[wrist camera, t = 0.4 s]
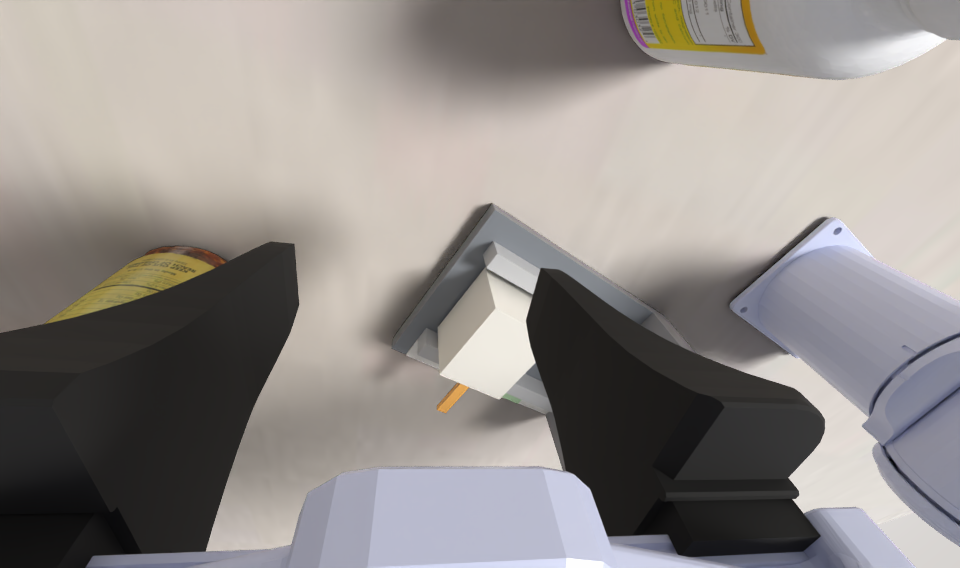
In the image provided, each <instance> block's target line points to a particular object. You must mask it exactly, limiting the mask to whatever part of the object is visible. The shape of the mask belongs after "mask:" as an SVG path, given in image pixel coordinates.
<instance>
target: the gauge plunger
mask: <svg viewBox="0 0 960 568" xmlns="http://www.w3.org/2000/svg"><path fill="white" fill-rule="evenodd" d="M532 297H533V294H531V293H529V292H527V291H526V290H524V289H522V288H521V287H519V286H517V285H515V284H514V283H512V282H510V281H508V280H507V279H505V278H503V277H501V276H500V275H498V274H496V273H494V272H493V271H491V270H489V269H487V268H486V267H485V268H484V269H483V271H482V272H481V273H480V274H479V276H478V277H477V278H476V279H475V281H474V282H473V283H472V285H471V286H470V287H469V288H468V290H467V291H466V292H465V293H464V295H463V296H462V297H461V299H460V300H459V301H458V302H457V304H456V305H455V306H454V307H453V309H452V310H451V311H450V312H449V314H448V315H447V316H446V318H445V319H444V320H443V321H442V323H441V324H440V325H439V326H438V351H439V375H441V376H444V377H446V378H448V379H451V380H453V381H456V382H458V383H457V384H456V385H455V386H454V387H453V388H452V389H451V391H450V392H449V393H448V394H447V395H446V396H445V397H444V398H443V400H442V401H441V402H440V403H439V404H438V405H437V410H438V411H441V412H444V413H446V412H447V411H448V410H449V409H450V408H451V407H452V406H453V405H454V404H455V402H456V401H457V400H458V399H459V398H460V397H461V396H462V395H463V394H464V393H465V391H466V390H467V389H468V388H469V387H470V388H472V389H475V390H477V391H479V392H482V393H484V394H487V395H489V396H491V397H494V398H496V399H499V400H500V399H501V398H502V397H503V395H504V394H505V393H506V392H507V391H508V390H509V389H510V388H511V387H512V386H513V385H514V384H515V383H516V382H517V381H518V380H519V379H520V378H521V377H522V376H523V375H524V374H525V373H526V372H527V371H528V370H529V369H530V368H531V367H532V366H533V365H534V364H535V363H536V362H535V359H534V356H533V353H532V350H531V347H530V342H529V337H528V331H527V325H526V318H527V314H528V311H529V307H530V304H531V300H532Z"/></svg>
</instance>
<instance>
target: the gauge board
mask: <svg viewBox="0 0 960 568" xmlns="http://www.w3.org/2000/svg"><path fill="white" fill-rule="evenodd" d="M485 267H486V268H487V269H489V270H491V271H493V272H494V273H496V274H498V275H500V276H501V277H503V278H505V279H507V280H508V281H510V282H512V283H514V284H515V285H517V286H519V287H521V288H522V289H524V290H526V291H527V292H529V293H531V294H533V293H534V290H535V286H536V283H537V279H538V276H539V272H540V269H541V268H549V269H559V270H561V271H563V272H565V273H566V274H568V275H569V276H571V277H572V278H573V279H575V280H576V281H578V282H579V283H580V284H582V285H583V286H584V287H586V288H587V289H588V290H590V291H591V292H592V293H594V294H595V295H597V296H598V297H599V298H601V299H602V300H603V301H605V302H606V303H608V304H609V305H610V306H612V307H613V308H615V309H616V310H618V311H619V312H621V313H622V314H624V315H625V316H627V317H628V318H630V319H631V320H633V321H635V322H636V323H638V324H639V325H641V326H643V327H645V328H646V329H648V330H650V331H652V332H654V333H655V334H657V335H659V336H661V337H663V338H664V339H666V340H668V341H670V342H672V343H674V344H676V345H679V346H681V347H683V348H685V349H687V350H689V351H692V352H694V353H695V351H694V350H693V349H692V348H691V347H690V345H689V344H688V343H687V342H686V341H685V340H684V338H683V337H682V336H681V335H680V334H679V333H678V331H677V330H676V329H675V328H674V327H673V325H672V324H671V323H670V322H669V321H668V320H667V318H666V317H665V316H664V315H662V314H661V313H659V312H658V311H656V310H655V309H653V308H652V307H650V306H648V305H647V304H645V303H644V302H642V301H641V300H639V299H638V298H636V297H635V296H633V295H632V294H630V293H629V292H627V291H626V290H624V289H623V288H621V287H620V286H618V285H617V284H615V283H613V282H612V281H610V280H609V279H607V278H606V277H604V276H603V275H601V274H600V273H598V272H597V271H595V270H594V269H592V268H591V267H589V266H588V265H586V264H585V263H583V262H581V261H580V260H578V259H577V258H575V257H574V256H572V255H571V254H569V253H568V252H566V251H565V250H563V249H562V248H560V247H559V246H557V245H556V244H554V243H553V242H551V241H550V240H548V239H546V238H545V237H543V236H542V235H540V234H539V233H537V232H536V231H534V230H533V229H531V228H530V227H528V226H527V225H525V224H524V223H522V222H521V221H519V220H518V219H516V218H515V217H513V216H511V215H510V214H508V213H507V212H505V211H504V210H502V209H501V208H499V207H498V206H496V205H495V204H493V203H492V204H491V206H490V207H489V208H488V210H487V211H486V213H485V214H484V215H483V217H482V218H481V219H480V221H479V222H478V223H477V225H476V226H475V227H474V229H473V230H472V232H471V233H470V234H469V236H468V237H467V238H466V240H465V241H464V242H463V244H462V245H461V246H460V248H459V249H458V251H457V252H456V253H455V255H454V256H453V257H452V259H451V260H450V261H449V263H448V264H447V265H446V267H445V268H444V270H443V271H442V272H441V274H440V275H439V276H438V278H437V279H436V280H435V282H434V283H433V284H432V286H431V287H430V289H429V290H428V291H427V293H426V294H425V295H424V297H423V298H422V299H421V301H420V302H419V303H418V305H417V306H416V308H415V309H414V310H413V312H412V313H411V314H410V316H409V317H408V318H407V320H406V321H405V322H404V324H403V325H402V326H401V328H400V329H399V331H398V332H397V333H396V335H395V336H394V337H393V341H392V349H394V350H396V351H399V352H401V353H403V354H406V356H408V357H410V358H413V359H415V360H417V361H420V362H422V363H424V364H427V365H429V366H431V367H434V368H436V369H439V351H438V326H439V325H440V324H441V323H442V321H443V320H444V319H445V318H446V316H447V315H448V314H449V312H450V311H451V310H452V309H453V307H454V306H455V305H456V304H457V302H458V301H459V300H460V299H461V297H462V296H463V295H464V293H465V292H466V291H467V290H468V288H469V287H470V286H471V285H472V283H473V282H474V281H475V279H476V278H477V277H478V276H479V274H480V273H481V272H482V271H483V269H484V268H485ZM503 398H505V399H507V400H510V401H512V402H515V403H517V404H518V403H519V404H521V405H523V406H526V407H528V408H531V409H533V410H535V411H538V412H540V413H542V414H545V415H546V418H547V421H548V424H549V427H550V431H551V434H552V437H553V440H554V443H555V447H556V450H557V453H558V456H559V459H560V463H561V466H562V469H563V471H566V469H565V464H564V459H563V454H562V449H561V444H560V440H559V436H558V431H557V427H556V422H555V418H554V415H553V411H552V408H551V405H550V402H549V399H548V396H547V393H546V391H545V388H544V385H543V382H542V379H541V376H540V373H539V371H538V368H537V365H536V363H535V364H534V365H533V366H532V367H531V368H530V369H529V370H528V371H527V372H526V373H525V374H524V375H523V376H522V377H521V378H520V379H519V380H518V381H517V382H516V383H515V384H514V385H513V386H512V387H511V388H510V389H509V390H508V391H507V392H506V393H505V394H504V395H503Z"/></svg>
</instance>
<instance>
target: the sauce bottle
mask: <svg viewBox="0 0 960 568" xmlns="http://www.w3.org/2000/svg"><path fill="white" fill-rule="evenodd" d="M226 262H227V261H226V260H224V259H222V258H221V257H219V256H218V255H216V254H214V253H211V252H209V251H206V250H203V249H199V248H193V247H184V246H183V247H181V246H174V247H161V248H157V249H154V250H151V251H149V252H147V253H146V254H145V256H143V257H141V258H138V259H136V260H134V261H132V262H130V263H129V264H127V265H126V266H125V267H123V268H122V269H120V270H119V271H118V272H116V273H115V274H113V275H112V276H111V277H109V278H108V279H106V280H105V281H104V282H102V283H101V284H99V285H98V286H97V287H95V288H94V289H92V290H91V291H90V292H88V293H87V294H85V295H84V296H83V297H81V298H80V299H78V300H77V301H76V302H74V303H73V304H71V305H70V306H68V307H67V308H66V309H64V310H63V311H61V312H60V313H59V314H57V315H56V316H54V317H53V318H52V319H50V320H49V321H47V322H46V323H45V324H47V323H51V322H56V321H60V320H65V319H69V318H73V317H77V316H80V315H84V314H88V313H91V312H95V311H98V310H102V309H106V308H109V307H113V306H117V305H120V304H124V303H127V302H130V301H133V300H136V299H139V298H142V297H145V296H148V295H151V294H154V293H157V292H159V291H162V290H165V289H167V288H170V287H173V286H175V285H178V284H180V283H182V282H185V281H187V280H189V279H191V278H194V277H196V276H198V275H201V274H203V273H205V272H207V271H210V270H212V269H214V268H216V267H218V266H220V265H222V264H224V263H226Z"/></svg>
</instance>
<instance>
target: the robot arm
mask: <svg viewBox="0 0 960 568" xmlns="http://www.w3.org/2000/svg"><path fill="white" fill-rule="evenodd" d="M298 306H299V297H298V284H297V271H296V259H295V246H294V244H289V243H279V242H269V243H266V244H264V245H261V246H259V247H257V248H255V249H253V250H251V251H249V252H247V253H245V254H243V255H241V256H239V257H237V258H235V259H233V260H231V261H228V262H226V263H224V264H222V265H220V266H218V267H216V268H214V269H212V270H210V271H207V272H205V273H203V274H201V275H198V276H196V277H194V278H191V279H189V280H187V281H185V282H182V283H180V284H178V285H175V286H173V287H170V288H167V289H165V290H162V291H159V292H157V293H154V294H151V295H148V296H145V297H142V298H139V299H136V300H133V301H130V302H127V303H124V304H120V305H117V306H113V307H109V308H106V309H102V310H98V311H95V312H91V313H88V314H84V315H80V316H77V317H73V318H69V319H65V320H60V321H56V322H51V323H47V324H43V325H38V326H33V327H28V328H23V329H18V330H13V331H9V332H3V333H0V568H916V567H915V566H914V565H913V564H912V563H911V562H910V560H908V558H907V557H906V556H905V555H904V554H903V553H902V552H901V551H900V550H899V549H898V548H897V546H896V545H895V544H894V543H893V542H892V541H891V540H890V539H889V538H888V537H887V535H886V534H885V533H884V532H883V531H882V530H881V529H880V528H879V527H878V526H877V525H876V523H875V522H874V521H873V520H872V519H871V518H870V517H869V516H868V515H867V514H866V513H865V512H864V510H863V509H861V508H857V507H843V508H818V509H813V510H811V511H808V512H806V513H804V514H803V512H802V511H801V510H800V509H799V507H798V506H797V505H796V504H795V502H794V501H793V500H792V499H796V498H797V497H798V496H799V491H798V489H797V488H796V487H795V486H794V484H793V483H792V482H791V481H790V479H789V478H788V477H789V476H790V475H791V474H792V473H793V472H794V471H795V470H796V469H797V468H798V467H799V466H800V465H801V463H802V462H803V461H804V460H805V459H806V458H807V457H808V456H809V455H810V454H811V453H812V452H813V451H814V449H815V448H816V447H817V445H818V444H819V443H820V441H821V439H822V436H823V434H824V431H825V419H824V417H823V416H822V414H821V413H820V411H819V410H818V409H817V408H816V407H814V406H813V405H812V404H811V403H810V402H809V401H808V400H807V399H806V398H805V397H804V396H803V395H802V394H801V393H800V392H798V391H797V390H796V389H794V388H792V387H788V386H785V385H782V384H779V383H776V382H772V381H769V380H766V379H763V378H760V377H757V376H753V375H750V374H747V373H744V372H741V371H739V370H736V369H733V368H731V367H728V366H725V365H723V364H720V363H717V362H715V361H712V360H710V359H708V358H705V357H703V356H700V355H698V354H696V353H694V352H692V351H689V350H687V349H685V348H683V347H681V346H679V345H676V344H674V343H672V342H670V341H668V340H666V339H664V338H663V337H661V336H659V335H657V334H655V333H654V332H652V331H650V330H648V329H646V328H645V327H643V326H641V325H639V324H638V323H636V322H635V321H633V320H631V319H630V318H628V317H627V316H625V315H624V314H622V313H621V312H619V311H618V310H616V309H615V308H613V307H612V306H610V305H609V304H608V303H606V302H605V301H603V300H602V299H601V298H599V297H598V296H597V295H595V294H594V293H592V292H591V291H590V290H588V289H587V288H586V287H584V286H583V285H582V284H580V283H579V282H578V281H576V280H575V279H573V278H572V277H571V276H569V275H568V274H566V273H565V272H563V271H561V270H559V269H549V268H541V269H540V272H539V276H538V279H537V283H536V286H535V290H534V293H533V297H532V300H531V304H530V307H529V311H528V314H527V318H526V325H527V331H528V337H529V342H530V347H531V350H532V353H533V356H534V359H535V362H536V365H537V368H538V371H539V373H540V376H541V379H542V382H543V385H544V388H545V391H546V393H547V396H548V399H549V402H550V405H551V408H552V411H553V415H554V418H555V422H556V427H557V431H558V436H559V440H560V444H561V449H562V454H563V459H564V464H565V469H566V471H561V470H556V469H550V468H545V467H539V466H518V467H374V468H368V469H361V470H355V471H349V472H343V473H341V474H339V475H338V476H336V477H334V478H333V479H331V480H329V481H327V482H326V483H324V484H322V485H321V486H319V487H317V488H315V489H314V490H312V491H310V492H309V493H308V494H307V497H306V499H305V502H304V504H303V507H302V509H301V512H300V514H299V518H298V522H297V525H296V529H295V533H294V537H293V541H292V544H291V545H288V546H283V547H279V548H274V549H264V550H237V551H210V552H205V551H206V548H207V545H208V541H209V538H210V534H211V531H212V527H213V524H214V521H215V518H216V515H217V511H218V508H219V505H220V502H221V499H222V495H223V492H224V489H225V486H226V483H227V480H228V477H229V474H230V471H231V468H232V465H233V462H234V459H235V456H236V453H237V450H238V447H239V445H240V442H241V439H242V436H243V434H244V431H245V428H246V425H247V423H248V420H249V417H250V414H251V412H252V410H253V407H254V405H255V403H256V401H257V398H258V396H259V394H260V392H261V390H262V388H263V386H264V384H265V382H266V380H267V378H268V376H269V374H270V372H271V370H272V368H273V366H274V365H275V363H276V361H277V359H278V357H279V355H280V353H281V351H282V349H283V346H284V344H285V342H286V340H287V338H288V336H289V334H290V332H291V329H292V326H293V323H294V320H295V316H296V313H297V310H298ZM730 309H731V310H732V311H733V312H735V313H736V314H737V315H739V316H740V317H741V318H743V319H744V320H745V321H747V322H748V323H749V324H751V325H752V326H753V327H755V328H756V329H758V330H759V331H760V332H762V333H763V334H764V335H766V336H767V337H768V338H770V339H771V340H772V341H774V342H775V343H776V344H778V345H779V346H780V347H782V348H783V349H784V350H786V351H787V352H788V353H790V354H791V355H792V356H794V357H795V358H800V359H802V360H803V361H804V362H805V363H806V364H807V365H809V366H810V367H811V368H812V369H813V370H814V371H816V372H817V373H818V374H819V375H820V376H821V377H822V378H824V379H825V380H826V381H827V382H828V383H829V384H831V385H832V386H833V387H834V388H835V389H836V390H837V391H839V392H840V393H841V394H842V395H843V396H844V397H846V398H847V399H848V400H849V401H850V402H851V403H852V404H854V405H855V406H856V407H857V408H858V409H859V410H861V411H862V412H863V413H864V414H865V415H866V416H868V417H869V418H868V420H867V421H866V422H865V423H864V424H863V425H862V427H863V428H864V429H865V430H866V431H867V432H868V433H870V434H871V435H872V436H873V437H874V438H875V439H876V440H877V441H878V443H876V444H875V445H874V447H873V449H872V453H873V457H874V460H875V462H876V464H877V467H878V470H879V472H880V474H881V476H882V477H883V479H884V480H885V482H886V483H887V484H888V486H889V487H890V488H891V489H892V491H893V492H894V493H895V494H896V495H897V496H898V497H899V498H900V499H901V500H902V501H903V502H904V503H905V504H906V505H907V506H908V507H909V508H910V509H911V510H912V511H913V512H914V513H916V514H917V515H918V516H919V517H920V518H921V519H923V520H924V521H925V522H926V523H927V524H929V525H930V526H931V527H933V528H934V529H935V530H936V531H938V532H939V533H940V534H942V535H943V536H945V537H946V538H948V539H949V540H950V541H952V542H954V543H955V544H957V545H958V546H960V301H959V300H957V299H955V298H953V297H951V296H949V295H947V294H945V293H943V292H941V291H939V290H937V289H935V288H933V287H931V286H929V285H927V284H925V283H923V282H921V281H919V280H917V279H915V278H913V277H911V276H909V275H907V274H905V273H903V272H901V271H899V270H897V269H895V268H893V267H891V266H889V265H887V264H885V263H883V262H881V261H879V260H877V259H875V258H874V257H873V256H872V255H871V254H870V252H869V251H868V250H867V249H866V248H865V247H864V246H863V245H862V244H861V242H860V241H859V240H858V239H857V238H856V237H855V236H854V235H853V233H852V232H851V231H850V230H849V229H848V228H847V227H846V226H845V225H844V223H843V222H842V221H841V220H839V219H837V218H835V217H831V218H829V219H827V220H825V221H824V222H823V223H822V224H821V225H820V226H818V227H817V228H816V229H815V230H814V231H813V232H811V233H810V234H809V235H808V236H807V237H806V238H805V239H803V240H802V241H801V242H800V243H799V244H798V245H796V246H795V247H794V248H793V249H792V250H791V251H790V252H788V253H787V254H786V255H785V256H784V257H783V258H781V259H780V260H779V261H778V262H777V263H776V264H774V265H773V266H772V267H771V268H770V269H769V270H768V271H766V272H765V273H764V274H763V275H762V276H761V277H759V278H758V279H757V280H756V281H755V282H754V283H752V284H751V285H750V286H749V287H748V288H747V289H746V290H744V291H743V292H742V293H741V294H740V295H739V296H737V297H736V298H735V299H734V300H733V301H732V302H731V303H730Z"/></svg>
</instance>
